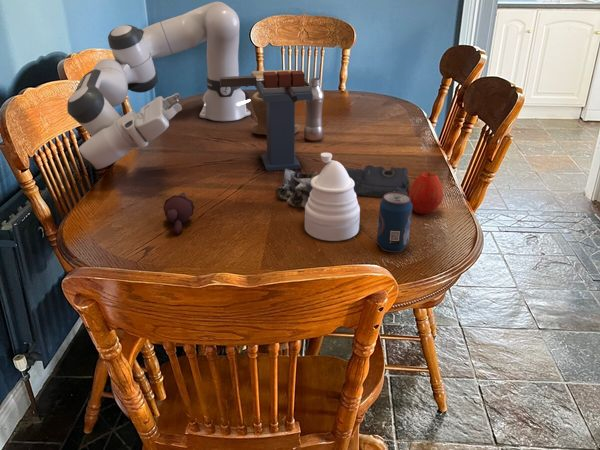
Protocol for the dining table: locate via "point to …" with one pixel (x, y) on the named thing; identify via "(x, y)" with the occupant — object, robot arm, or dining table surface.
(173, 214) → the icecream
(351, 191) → the honey pot
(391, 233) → the soda can
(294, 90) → the steel pan
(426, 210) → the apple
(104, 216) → the dining table surface
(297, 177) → the foil
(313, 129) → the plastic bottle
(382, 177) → the dark slate chunk
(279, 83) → the beef skewer
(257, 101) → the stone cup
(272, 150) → the stand
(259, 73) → the cutting board
